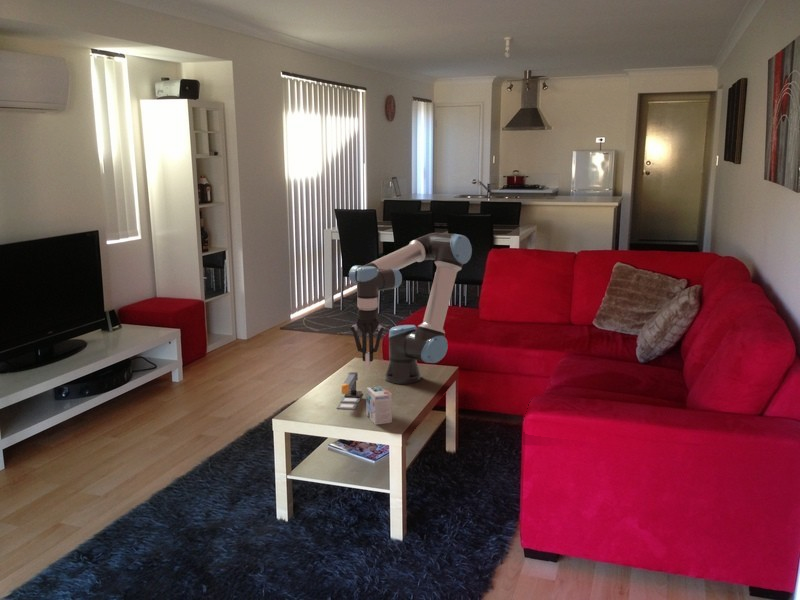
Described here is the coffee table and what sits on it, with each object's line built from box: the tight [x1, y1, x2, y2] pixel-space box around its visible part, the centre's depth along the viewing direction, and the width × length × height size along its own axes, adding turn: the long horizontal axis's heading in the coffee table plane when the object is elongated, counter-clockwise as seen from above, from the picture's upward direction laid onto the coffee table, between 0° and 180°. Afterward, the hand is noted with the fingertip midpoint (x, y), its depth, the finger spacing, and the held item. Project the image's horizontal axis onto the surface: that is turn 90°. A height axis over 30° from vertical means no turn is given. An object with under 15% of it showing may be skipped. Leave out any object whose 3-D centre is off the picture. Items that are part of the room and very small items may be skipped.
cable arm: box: [341, 371, 359, 395], centre depth 270 cm, size 4×19×3 cm, turn 173°
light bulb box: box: [365, 385, 393, 426], centre depth 253 cm, size 11×7×11 cm, turn 21°
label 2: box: [336, 403, 358, 411], centre depth 267 cm, size 7×5×1 cm
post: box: [344, 381, 363, 398], centre depth 279 cm, size 6×6×6 cm
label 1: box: [340, 397, 362, 404], centre depth 273 cm, size 7×5×1 cm
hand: (367, 369), depth 266 cm, fingers closed
